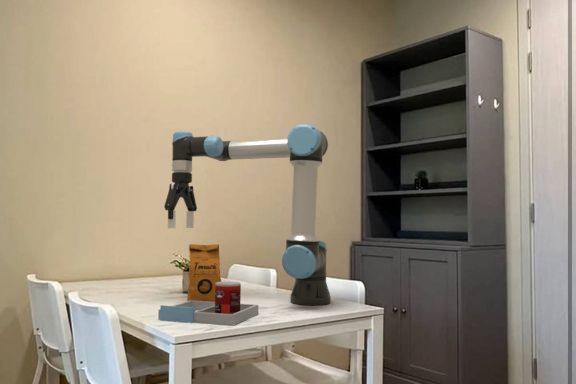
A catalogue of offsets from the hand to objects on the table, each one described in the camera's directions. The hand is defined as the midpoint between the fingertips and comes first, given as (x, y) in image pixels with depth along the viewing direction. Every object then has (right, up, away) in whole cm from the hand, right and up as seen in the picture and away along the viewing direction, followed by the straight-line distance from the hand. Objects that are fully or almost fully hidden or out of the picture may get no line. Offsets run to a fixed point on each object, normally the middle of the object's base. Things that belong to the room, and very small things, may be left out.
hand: (181, 228), depth 198 cm
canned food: (+22, -26, -35) cm, 49 cm away
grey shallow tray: (+16, -26, -33) cm, 45 cm away
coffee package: (+11, -27, -13) cm, 32 cm away
